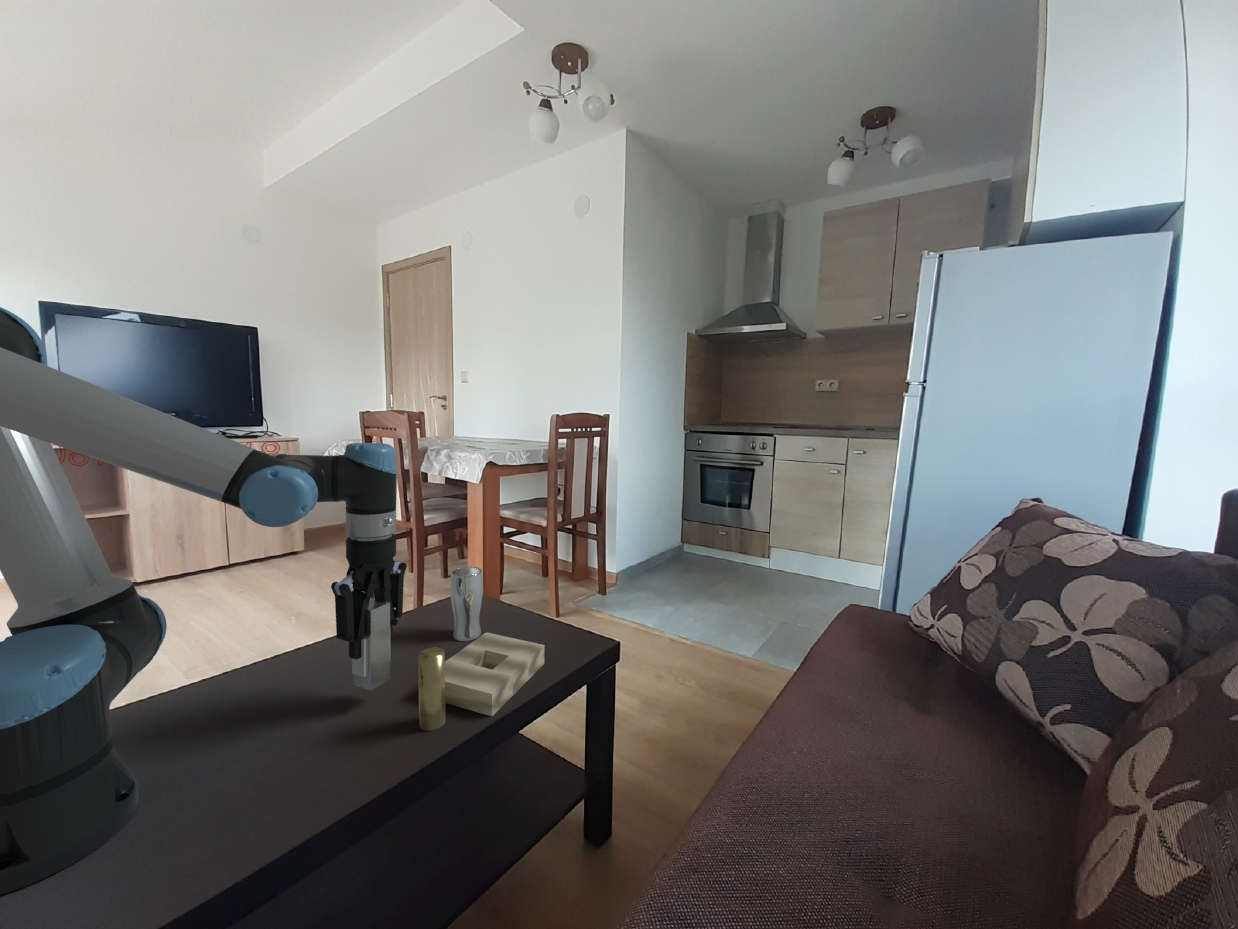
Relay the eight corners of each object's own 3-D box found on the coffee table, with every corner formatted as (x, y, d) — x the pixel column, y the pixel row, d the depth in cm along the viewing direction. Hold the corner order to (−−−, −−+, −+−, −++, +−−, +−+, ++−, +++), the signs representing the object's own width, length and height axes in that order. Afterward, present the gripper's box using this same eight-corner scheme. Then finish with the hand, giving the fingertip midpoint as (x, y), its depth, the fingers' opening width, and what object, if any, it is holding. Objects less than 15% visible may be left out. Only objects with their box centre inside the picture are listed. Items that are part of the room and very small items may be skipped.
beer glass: (449, 631, 109) (448, 568, 107) (480, 626, 112) (480, 564, 110) (452, 644, 102) (451, 578, 101) (485, 639, 105) (485, 574, 104)
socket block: (492, 716, 79) (492, 694, 79) (425, 697, 84) (424, 676, 83) (544, 663, 96) (544, 645, 95) (486, 650, 101) (486, 632, 100)
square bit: (370, 690, 79) (370, 610, 78) (352, 685, 80) (352, 606, 79) (389, 678, 83) (390, 602, 81) (372, 673, 84) (372, 598, 83)
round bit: (433, 733, 74) (432, 662, 73) (413, 727, 76) (412, 656, 74) (450, 718, 78) (450, 650, 77) (431, 712, 80) (430, 645, 78)
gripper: (343, 551, 70) (344, 699, 72) (426, 527, 86) (424, 650, 88) (306, 544, 72) (308, 688, 75) (394, 522, 88) (393, 641, 91)
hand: (371, 667), depth 81 cm, fingers closed on square bit, 4 cm apart
